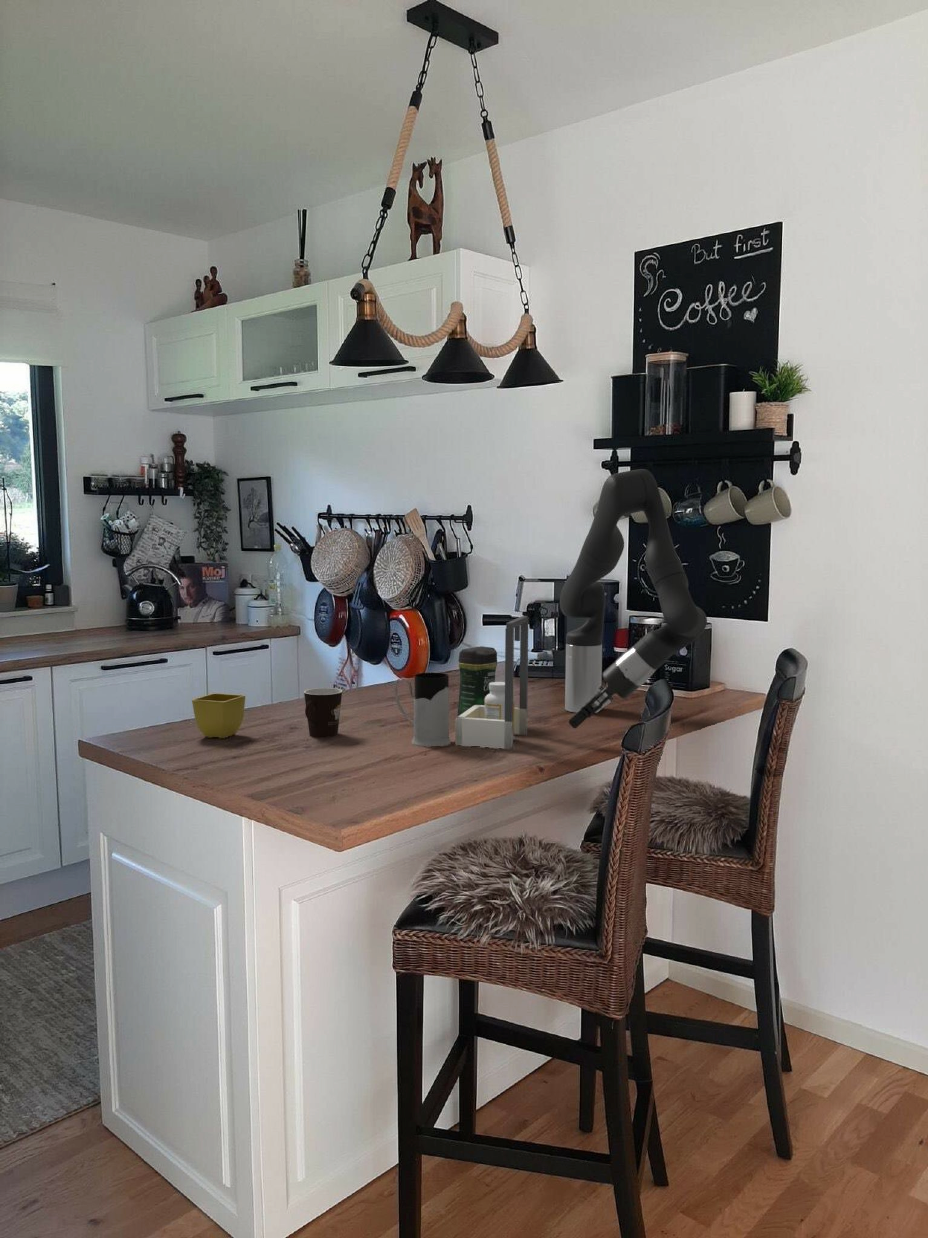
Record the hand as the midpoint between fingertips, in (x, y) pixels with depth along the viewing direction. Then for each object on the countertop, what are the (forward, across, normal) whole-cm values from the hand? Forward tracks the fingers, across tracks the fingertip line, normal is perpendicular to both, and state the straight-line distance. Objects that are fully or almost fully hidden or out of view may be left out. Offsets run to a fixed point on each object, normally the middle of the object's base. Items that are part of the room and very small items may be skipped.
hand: (571, 724), depth 212 cm
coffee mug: (+43, +8, -37) cm, 57 cm away
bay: (+16, 0, -9) cm, 18 cm away
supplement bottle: (+15, 0, -8) cm, 17 cm away
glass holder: (+26, +6, -20) cm, 34 cm away
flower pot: (+58, +15, -52) cm, 79 cm away
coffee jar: (+22, -16, -15) cm, 31 cm away
